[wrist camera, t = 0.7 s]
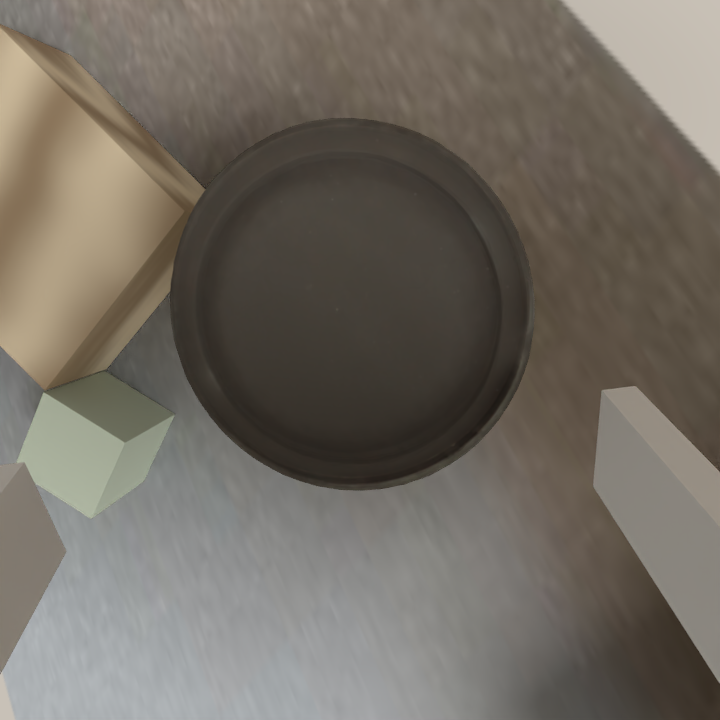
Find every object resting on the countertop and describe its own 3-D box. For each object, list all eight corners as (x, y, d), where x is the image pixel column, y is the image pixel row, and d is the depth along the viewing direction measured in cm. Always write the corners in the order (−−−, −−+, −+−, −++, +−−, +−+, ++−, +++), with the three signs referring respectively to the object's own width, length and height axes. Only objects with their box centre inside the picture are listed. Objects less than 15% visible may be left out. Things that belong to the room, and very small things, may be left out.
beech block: (231, 215, 30) (184, 211, 26) (106, 369, 34) (44, 390, 29) (71, 55, 30) (-6, 21, 26) (-38, 225, 34) (-124, 222, 29)
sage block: (175, 413, 34) (125, 442, 29) (144, 480, 35) (91, 519, 30) (105, 370, 34) (43, 392, 29) (77, 438, 35) (13, 469, 31)
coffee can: (281, 333, 31) (128, 404, 18) (349, 144, 28) (229, 58, 15) (458, 411, 30) (438, 551, 17) (546, 222, 27) (609, 205, 14)
